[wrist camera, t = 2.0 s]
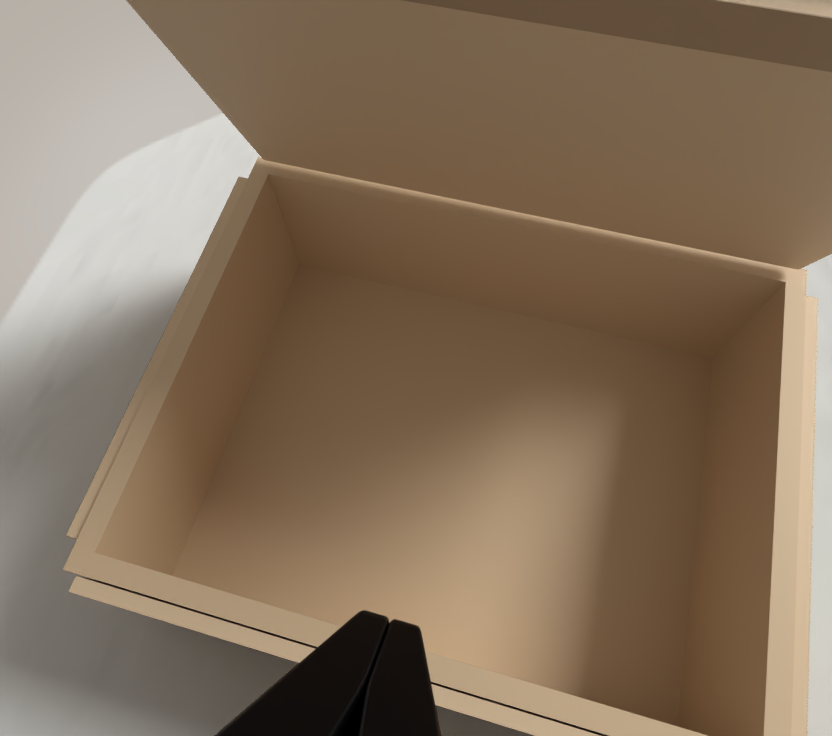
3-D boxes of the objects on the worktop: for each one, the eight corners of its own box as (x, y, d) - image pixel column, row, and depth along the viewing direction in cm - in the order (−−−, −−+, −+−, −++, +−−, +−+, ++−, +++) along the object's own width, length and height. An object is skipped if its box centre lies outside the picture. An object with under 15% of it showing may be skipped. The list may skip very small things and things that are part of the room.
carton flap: (1202, 77, 8) (1208, 45, 8) (32, -107, 11) (39, -132, 11) (798, 270, 19) (801, 256, 19) (263, 160, 21) (267, 147, 21)
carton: (703, 773, 19) (810, 821, 14) (137, 600, 22) (38, 582, 16) (736, 355, 25) (822, 273, 20) (282, 254, 27) (245, 154, 22)
